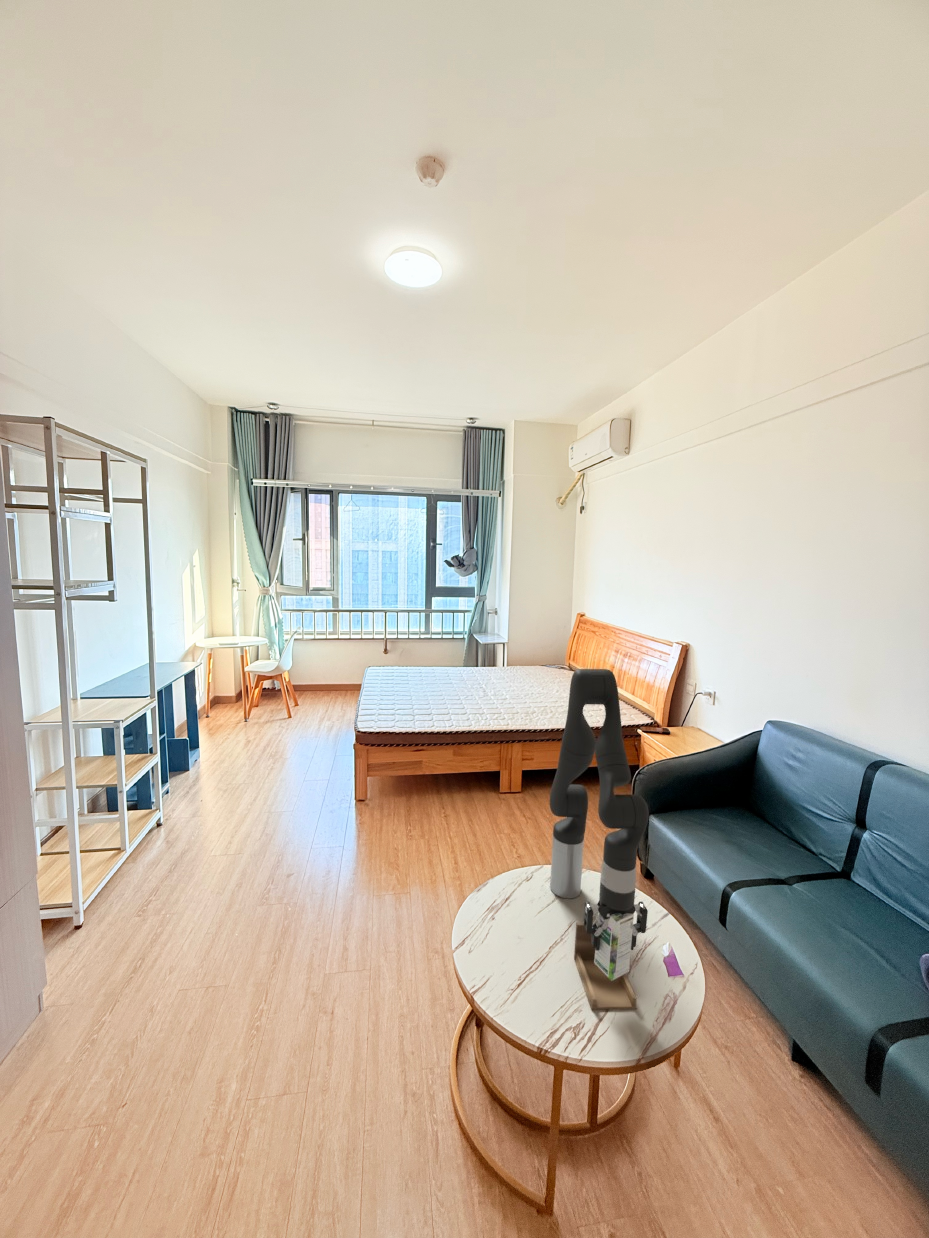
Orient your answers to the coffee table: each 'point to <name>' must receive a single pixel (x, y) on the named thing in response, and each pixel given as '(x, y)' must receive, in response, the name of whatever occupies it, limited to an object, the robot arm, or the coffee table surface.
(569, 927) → the coffee table surface
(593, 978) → the book rack
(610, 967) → the syrup box
